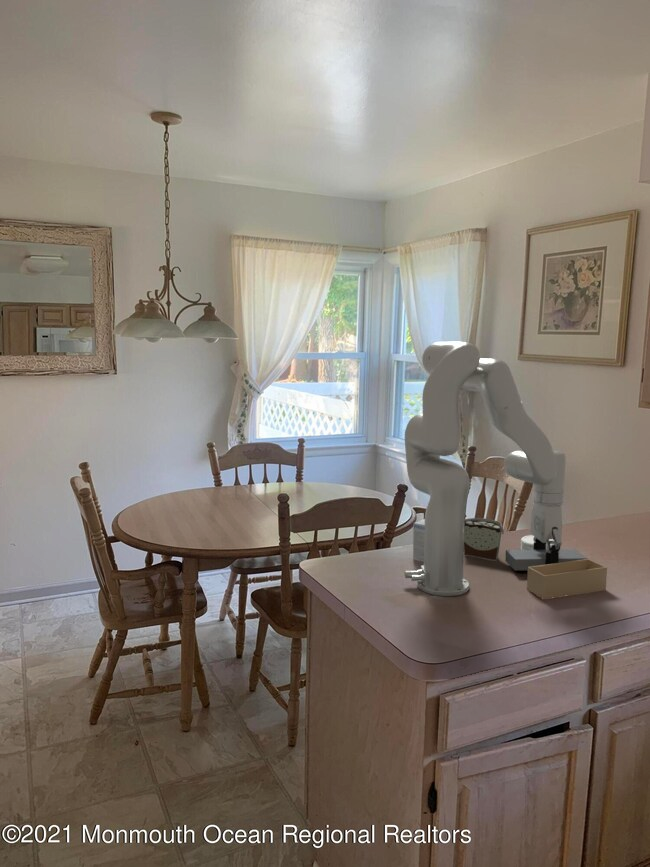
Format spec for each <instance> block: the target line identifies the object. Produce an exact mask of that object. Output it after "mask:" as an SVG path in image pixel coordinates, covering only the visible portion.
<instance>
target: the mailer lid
mask: <svg viewBox="0 0 650 867" xmlns="http://www.w3.org/2000/svg"><path fill="white" fill-rule="evenodd" d="M546 552H547V549H546V550H521V549H506V550H505V558H504V559H505V562H506V564H508V565H509V566H510V567H511V568H512V569H513V570H514V571H528V567H532V566H539V565H545V561H546ZM584 559H589V558H588V557H586V556H585V555H584V554H582V553H581V552H580V551H578V550H577V549H576V548H563V549H561V548H560V552H559V559H558V563H562V562H569V561H577V560H584Z"/></svg>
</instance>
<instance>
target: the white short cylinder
mask: <svg viewBox="0 0 650 867" xmlns="http://www.w3.org/2000/svg"><path fill="white" fill-rule="evenodd" d="M533 538H534V536H533V535H532V534H529V535H524V536H523V537H521V539H520V550H533V548H534V540H533ZM549 541H554V540H553V539H549ZM552 545H554V544H550V547H552ZM546 549H547V546H546Z"/></svg>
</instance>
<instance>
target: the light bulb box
mask: <svg viewBox="0 0 650 867" xmlns="http://www.w3.org/2000/svg"><path fill="white" fill-rule="evenodd" d="M412 525H413V526H412V527H413V528H412V529H413V532H412V533H413V534H412V537H413V538H412V539H413V541H412V544H413V545H412V548H413V549H412V550H413V551H412V560H413V561H418V562H421V563H424V539H425V518H423V519H420V520H418V521H415V522H413V524H412Z"/></svg>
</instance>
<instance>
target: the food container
mask: <svg viewBox="0 0 650 867" xmlns="http://www.w3.org/2000/svg"><path fill="white" fill-rule="evenodd" d="M504 533H505V530H504V527H503V524H502V523H501V522H500V521H499V520H495V519H490V518H483V517H482V518H481V517H472V518H471V517H470V518H465V520H464V556H467V557H472V558H478V559H483V560H488V561H494V562H497V561H498V560H499V558H498V557H499V552H500V544H501V539H502V538H501V537H502V535H504Z"/></svg>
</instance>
